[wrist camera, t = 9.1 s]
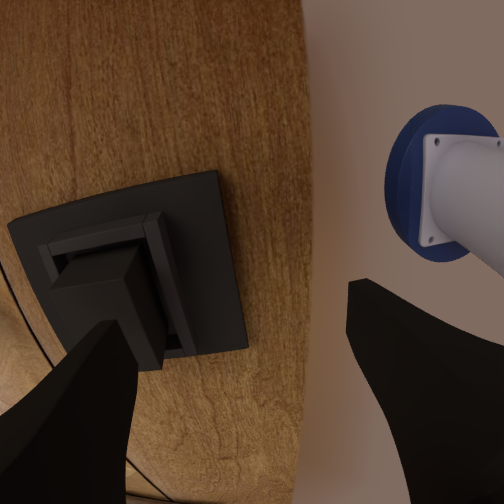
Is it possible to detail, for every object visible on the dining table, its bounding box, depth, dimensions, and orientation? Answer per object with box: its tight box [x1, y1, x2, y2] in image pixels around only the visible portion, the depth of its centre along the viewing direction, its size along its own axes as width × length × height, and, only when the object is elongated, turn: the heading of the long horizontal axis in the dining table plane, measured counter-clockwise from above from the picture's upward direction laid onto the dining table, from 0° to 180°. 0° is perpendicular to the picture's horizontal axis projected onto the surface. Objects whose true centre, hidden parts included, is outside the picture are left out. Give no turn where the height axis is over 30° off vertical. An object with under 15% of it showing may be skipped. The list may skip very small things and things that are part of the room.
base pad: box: [7, 170, 249, 359], centre depth 18 cm, size 14×12×2 cm
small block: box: [48, 242, 169, 372], centre depth 16 cm, size 4×6×4 cm
